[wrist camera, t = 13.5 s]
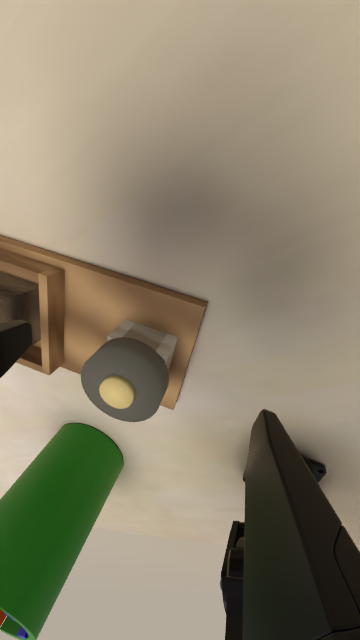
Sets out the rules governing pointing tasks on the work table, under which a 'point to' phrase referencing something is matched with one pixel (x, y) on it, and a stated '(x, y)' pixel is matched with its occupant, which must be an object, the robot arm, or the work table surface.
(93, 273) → the wooden tray
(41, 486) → the motor
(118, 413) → the grey knob
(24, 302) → the stepped grey block
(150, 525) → the work table surface
